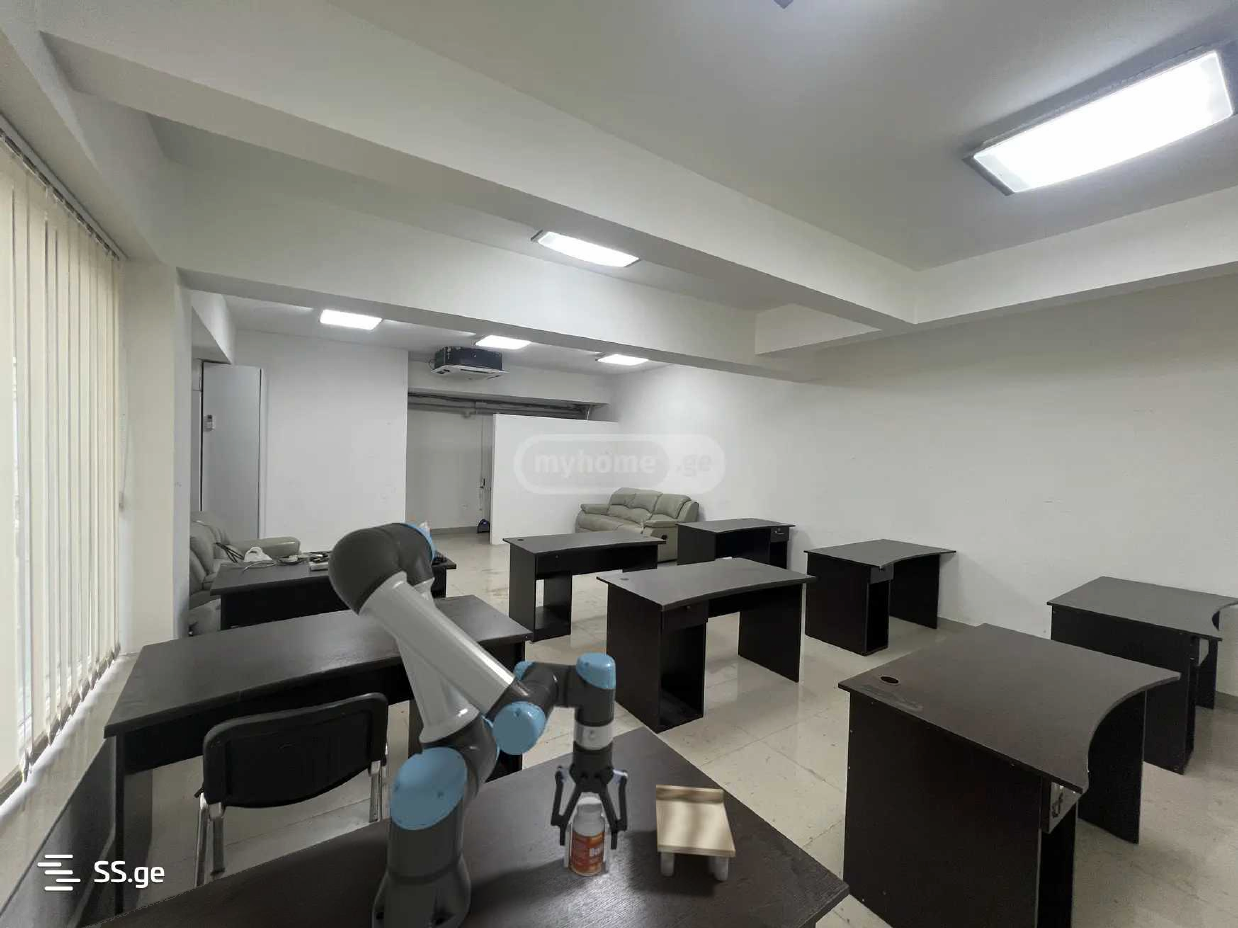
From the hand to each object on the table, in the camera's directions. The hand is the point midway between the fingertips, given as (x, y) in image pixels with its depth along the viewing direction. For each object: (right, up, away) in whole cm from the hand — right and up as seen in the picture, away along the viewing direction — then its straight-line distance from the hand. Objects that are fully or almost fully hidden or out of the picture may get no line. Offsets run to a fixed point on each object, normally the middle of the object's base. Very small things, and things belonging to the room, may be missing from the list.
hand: (587, 862), depth 92 cm
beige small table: (+20, -1, +4) cm, 21 cm away
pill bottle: (0, 0, 0) cm, 0 cm away
